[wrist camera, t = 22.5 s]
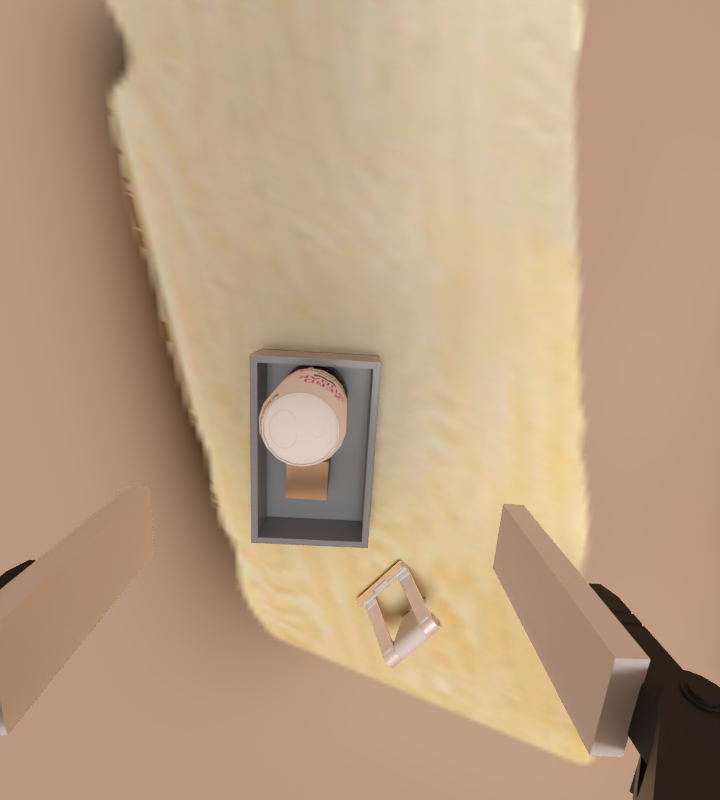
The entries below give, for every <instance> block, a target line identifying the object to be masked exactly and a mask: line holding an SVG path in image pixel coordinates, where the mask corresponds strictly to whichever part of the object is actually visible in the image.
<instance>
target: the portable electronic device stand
mask: <svg viewBox="0 0 720 800" xmlns="http://www.w3.org/2000/svg"><path fill="white" fill-rule="evenodd" d="M396 578H398V579H399V581H400V583H401V585H402V587H403V589H404V591H405V594H406V596H407V598H408V600H409V603H410V605H411V607H412V609H413V611H412V612H410V611H409V612H408V613H407V614H406V615H404V617H403V619H402V621H401V624H400V627H399V630H398V633H397V635H396V638H395V641H392V639H391V637H390V635H389V632H388V629H387V626H386V624H385V621H384V618H383V616H382V613H381V610H380V608H379V605H378V602H377V600H376V596H377V595H378V594H380V593H381V592H382V591H383V590H384V589H385V588H386V587H387V586H389V585H390V584H391V583H392V582H393V581H394V580H395V579H396ZM426 600H427V599H426V598H424V599H423V598H422V596H421V594H420V592H419V590H418V588H417V586H416V584H415V582H414V579H413V577H412V575H411V573H410V571H409V569H408V567H407V566H406V564H405V563H404V562H403V561H401V560H400V561H399V562H397V563H396V564H395V565H394V566H393V567H392V568H391V569H390V570H389V571H387V572H386V573H385V574H384V575H383V576H382V577H381V578H380V579H379V580H377V581H376V582H375V583H374V584H373V585H372V586H371V587H370V588H369V589H367V590H366V591H365V592H364V593H363V594H362V595H361V596H360V597H359V598H358V606H359V607H361V606H363V605H365V607H366V609H367V611H368V614H369V617H370V620H371V623H372V626H373V628H374V631H375V634H376V637H377V640H378V643H379V646H380V649H381V652H382V654H383V657H384V660H385V662H386V663H387V665H388V666H390V667H391V668H393V667H395V666H396V665H397V664H398V663H399V662H401V661H402V660H403V659H404V658H405V657H407V656H408V655H409V654H410V653H411V652H412V651H414V650H415V649H416V648H417V647H418V646H420V645H421V644H422V643H423V642H424V641H426V640H427V639H428V638H429V637H430V636H432V635H433V634H434V633H435V632H436V631H437V630H439V629H440V628H441V627H442V625H441V622H440V620H439V618H438V617H437V616H436V615H435V614H434V613H433V612H431V611H430V610H429V609H428V608H427V606H426V604H425V603H426Z"/></svg>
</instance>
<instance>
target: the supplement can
mask: <svg viewBox="0 0 720 800" xmlns="http://www.w3.org/2000/svg"><path fill="white" fill-rule="evenodd" d="M347 401H348V389H347V386H346V384H345V381H344V378H343V377H342V376H341V375H340V374H339V372H338V371H337V370H336V369H334V368H332V367H328V366H310V365H300V366H298V367H296V368H294V369H293V370H292V371H291V372H290V373H289V374H288V376H287V377H286V378H285V379H284V380H283V381H282V382H281V384H280V385H279V386H278V387H277V388H276V389H275V390H274V392H273V393H272V394H271V395H270V396H269V397H268V399H267V400H266V401H265V402H264V403H263V406H262V409H261V412H260V415H259V432H260V435H261V437H262V439H263V442H264V444H265V446H266V447H267V448H268V449H269V450H270V452H271V453H272V454H273V455H274V456H275V457H276V458H277V459H279V460H281V461H283V462H285V463H287V464H289V465H295V466H301V467H302V466H308V465H315V464H319V463H321V462H323V461H325V460H327V459H328V458H330V457H332V456H333V454H334V453H335V452H336V451H337V450H338V449H339V448H340V447H341V444H342V442H343V439H344V437H345V434H346V422H347Z"/></svg>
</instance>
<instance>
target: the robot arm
mask: <svg viewBox="0 0 720 800" xmlns="http://www.w3.org/2000/svg"><path fill="white" fill-rule="evenodd" d="M151 513H152V512H151V500H150V487H146V486H127V487H126V488H125V489H124V490H122V491H121V492H120V493H119V494H118V495H116V496H115V497H114V498H113V499H111V500H110V501H109V502H108V503H106V504H105V505H104V506H103V507H102V508H100V509H99V510H98V511H97V512H95V513H94V514H93V515H92V516H90V517H89V518H88V519H87V520H85V521H84V522H83V523H82V524H80V526H78V527H77V528H76V529H74V530H73V531H72V532H71V533H69V534H68V535H67V536H66V537H65V538H63V539H62V540H61V541H60V542H58V543H57V544H56V545H55V546H54V547H52V548H51V549H50V550H48V551H47V552H46V553H45V554H43V555H42V556H41V557H40V558H38V559H37V560H28V561H26V562H24V563H22V564H20V565H18V566H16V567H14V568H12V569H10V570H8V571H6V572H5V573H4V574H3V575H1V576H0V736H8V734H9V733H10V732H11V731H12V729H13V728H14V727H15V726H16V724H17V723H18V722H19V721H20V719H21V718H22V717H23V716H24V714H25V713H26V712H27V711H28V709H29V708H30V707H31V705H32V704H33V703H34V702H35V701H36V700H37V698H38V697H39V696H40V695H41V693H42V692H43V691H44V690H45V688H46V687H47V686H48V684H49V683H50V682H51V681H52V680H53V678H54V677H55V676H56V674H57V673H58V672H59V671H60V670H61V668H62V667H63V666H64V665H65V663H66V662H67V661H68V660H69V658H70V657H71V656H72V655H73V653H74V652H75V651H76V650H77V648H78V647H79V646H80V645H81V643H82V642H83V641H84V640H85V638H86V637H87V636H88V635H89V633H90V632H91V631H92V630H93V629H94V627H95V626H96V625H97V623H98V622H99V621H100V620H101V619H102V617H103V616H104V615H105V613H106V612H107V611H108V609H110V607H111V606H112V605H113V604H114V602H115V601H116V600H117V599H118V597H119V596H120V595H121V594H122V592H123V591H124V590H125V589H126V587H127V586H128V585H129V584H130V582H131V581H132V580H133V579H134V577H135V576H136V575H137V574H138V572H139V571H140V570H141V569H142V567H143V566H144V565H145V564H146V562H147V561H148V560H149V559H150V557H151V556H152V555H153V554H154V540H153V526H152V514H151ZM493 569H494V571H495V573H496V575H497V576H498V578H499V580H500V582H501V584H502V586H503V588H504V590H505V592H506V594H507V596H508V598H509V600H510V602H511V604H512V606H513V608H514V609H515V611H516V613H517V615H518V617H519V619H520V621H521V623H522V625H523V627H524V629H525V631H526V633H527V635H528V637H529V639H530V641H531V642H532V644H533V646H534V648H535V650H536V652H537V654H538V656H539V658H540V660H541V662H542V664H543V666H544V668H545V670H546V672H547V673H548V675H549V677H550V679H551V681H552V683H553V685H554V687H555V689H556V691H557V693H558V695H559V697H560V699H561V701H562V703H563V705H564V706H565V708H566V710H567V712H568V714H569V716H570V718H571V720H572V722H573V724H574V726H575V728H576V730H577V732H578V734H579V736H580V738H581V739H582V741H583V743H584V745H585V747H586V749H587V751H588V753H589V755H590V756H616V757H617V756H618V757H622V756H623V753H624V750H625V747H626V743H627V740H628V736H629V737H630V739H631V741H632V742H633V744H634V745H635V747H636V749H637V750H638V752H639V753H640V758H639V762H638V765H637V769H636V772H635V775H634V778H633V782H632V785H631V788H630V792H631V793H633V800H720V687H718V686H717V685H716V684H714V683H713V682H711V681H709V680H707V679H706V678H704V677H702V676H700V675H697V674H695V673H692V672H689V671H686V670H683V669H682V668H681V667H680V666H679V665H678V664H677V663H676V661H675V660H674V659H673V658H672V657H671V656H670V655H669V654H668V652H667V651H666V650H665V649H664V648H663V647H662V646H661V645H660V643H659V642H658V641H657V640H656V639H655V638H654V637H653V636H652V634H651V633H650V632H649V631H648V630H647V629H646V628H645V627H644V626H642V623H641V622H640V621H639V620H638V619H637V618H636V617H635V616H634V614H631V611H630V610H629V609H628V608H627V606H626V605H625V604H624V603H623V602H622V601H621V600H620V598H619V597H617V596H616V595H615V594H613V593H612V592H611V591H609V590H608V589H606V588H605V587H604V586H602V585H601V584H588V583H587V582H586V580H585V579H584V578H583V577H582V575H581V574H580V573H579V572H578V571H577V569H576V568H575V567H574V566H573V565H572V563H571V562H570V561H569V560H568V558H567V557H566V556H565V555H564V554H563V552H562V551H561V550H560V549H559V548H558V546H557V545H556V544H555V543H554V542H553V540H552V539H551V538H550V537H549V535H548V534H547V533H546V532H545V531H544V529H543V528H542V527H541V526H540V525H539V523H538V522H537V521H536V520H535V518H534V517H533V516H532V515H531V514H530V512H529V511H528V510H527V509H526V508H525V506H524V505H513V504H503V509H502V515H501V521H500V528H499V534H498V540H497V546H496V552H495V559H494V565H493Z"/></svg>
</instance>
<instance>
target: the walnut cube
mask: <svg viewBox="0 0 720 800" xmlns="http://www.w3.org/2000/svg"><path fill="white" fill-rule="evenodd" d="M330 460H331V457H330V458H328V459H327V460H325V461H323V462H321V463H319V464H315V465H308V466H302V467H301V466H295V465H289V464H287V463H286V495H285V498H296V499H312V500H327V494H328V487H329V477H330Z"/></svg>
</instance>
